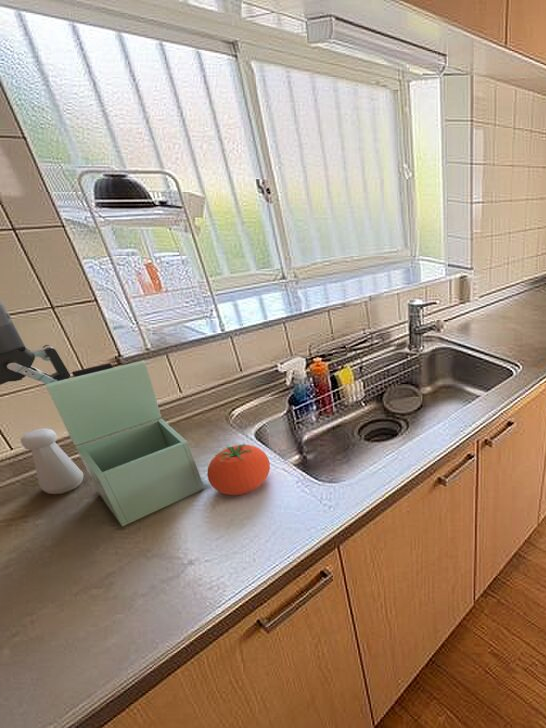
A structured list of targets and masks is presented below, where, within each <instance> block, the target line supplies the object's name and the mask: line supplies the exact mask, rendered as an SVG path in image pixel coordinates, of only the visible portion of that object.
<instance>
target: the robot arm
mask: <svg viewBox="0 0 546 728" xmlns="http://www.w3.org/2000/svg"><path fill="white" fill-rule="evenodd" d="M36 358H41V360H43V361H46V362H47V361H48V362H50V363H51V365H52V366H53V368H54V370H55V372H54V373H52V374H49V373H48V372H45V371H42V370H41V369H39V368H37V367H34V366H32V365H33V364H34V362H35V359H36ZM25 377H27V378H30V379H32V380H36V381H39V382H41V383H44V384H48V383H52V382H57V381H61V380H65V379H69V378H71V373H70V372H69V370H68V368H67V367H66V365H65V363H64V362H63V360H62V359H61V357H60V355H59V354H58V351H57V350H56V349H55V348H54V346H52V345H51V344H45V345H43V346H42V347H41V348H37V349H32V350H30V349H29V348H27V346H26V345H25V343H24V342H23V339H22V338H21V335H20V334H19V332H18V330H17V328H16V326H15V324H14V322H13V320H12V317H11V315H10V313H9V311H8V310H7V309H6V307H5V305H4V303H3V302H2V300H0V386H1V385H3V384H7V383H10V382H18V381H22V380H23V379H24V378H25Z"/></svg>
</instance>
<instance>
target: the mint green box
mask: <svg viewBox="0 0 546 728" xmlns="http://www.w3.org/2000/svg"><path fill="white" fill-rule="evenodd" d="M75 449H76V451H77V453H78V454H79V457H80V459H81V461H82V463H83V465H84V467H85V469H86V471H87V472H88V475H89V477H90V479H91V480H92V482H93V484H94V486H95V488H96V490H97V492H98V494H99V496H100V498H101V499H102V500H103V501H104V503H105V504H106V506H107V507H108V508H109V510H110V511H111V513H112V514H113V516H114V517H115V518H116V520H117V521H118V522H119V525H120V526H121V527H124V526H127V525H128V524H131V523H133V522H136V521H137V520H140V519H142V518H144V517H146V516H149V515H151V514H152V513H154V512H157V511H159V510H162V509H163V508H166V507H167V506H170V505H172V504H174V503H176V502H179V501H180V500H182V499H184V498H187V497H189V496H191V495H193V494H195V493H197V492H198V493H199V492H200V491H202V490H204V489H205V486H204V483H203V480H202V478H201V475H200V471H199V470H198V466H197V464H196V461H195V458H194V456H193V453H192V450H191V447H190V445H189V442H188V441H187V440H186V439H185V438H184V437H183V436H182V435H181V434H179V433H178V432H177V431H176V430H175V429H174V428H173V427H171V426H170V425H169V424H168V423H167V422H166V421H165V420H164V419H163V418H158V419H154V420H151V421H148V422H145V423H142V424H139V425H136V426H133V427H130V428H127V429H124V430H121V431H118V432H115V433H112V434H109V435H106V436H103V437H100V438H97V439H94V440H91V441H88V442H85V443H82V444H79V445H76V446H75Z"/></svg>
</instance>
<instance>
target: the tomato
mask: <svg viewBox="0 0 546 728" xmlns="http://www.w3.org/2000/svg"><path fill="white" fill-rule="evenodd" d="M270 469H271V464H270V459H269V457H268V455H267V453H266V452H264V450H262V448H260V447H257V446H254V445H250V444H246V443H244V444H243V443H242V444H237V445H233V446H226V448H224V449H223V450H221V451H220V452H218V453H217V454H215V455H214V457H213V458H212V459H211V461H210V462H209V464H208V467H207V473H206V475H207V480H208V482H209V484H210V485H211V487H212V488H213V489H214V490H215V491H217V492H219V493H221V494H224V495H228V496H240V495H245V494H248V493H250V492H253V491H254V490H256V489H258V488H259V487H260V486H261V485H262V484H263V483H264V482H265V481H266V479H267V478H268V476H269V473H270Z"/></svg>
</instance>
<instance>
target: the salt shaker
mask: <svg viewBox="0 0 546 728" xmlns="http://www.w3.org/2000/svg"><path fill="white" fill-rule="evenodd" d="M57 440H58V435H57V433H56V432H55V431H54V430H53V429H52V428H51V429H50V428H44V427H43V428H38V429H37V428H36V429H34V430H31V431H28V432H26V433H24V434H23V435H22V437H21V438H20V440H19V441H20V443H21V445H22V446H23V448H24V449H26V450H30V451H31V455H32V458H33V459H32V460H33V463H34V467H35V472H36V476H37V481H38V485H39V488H40V489H41V490H42V491H43V492H45V493H47V494H48V495H58V494H59V495H60V494H61V495H62V494H64V493H67V492H70V491H72V490H74V489H76V488H78V486H80V485H81V484H82V482H83V479H84V472H83V471H82V470H81V469H80V467H78V465H77V464H76V463H75V462H74V461H73V460H72V459H71V458H70V457H69V456H68V455H67V453H66V452H65V451H64V450H63V449H62V448H61V447H60V446H59V445H58V444H57V443H56V442H57Z"/></svg>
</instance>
